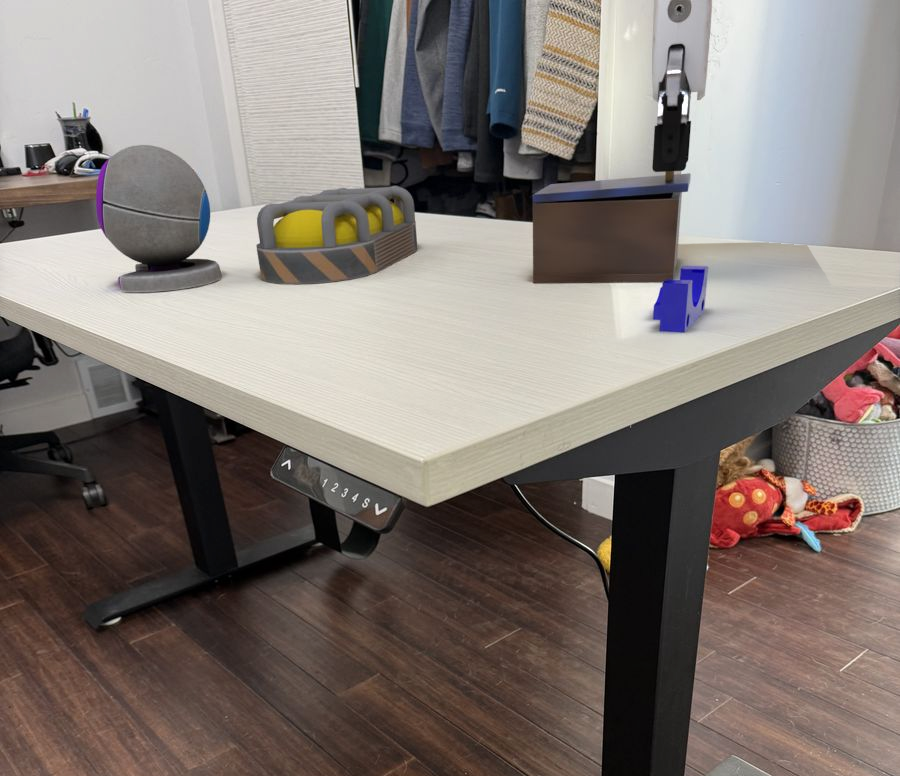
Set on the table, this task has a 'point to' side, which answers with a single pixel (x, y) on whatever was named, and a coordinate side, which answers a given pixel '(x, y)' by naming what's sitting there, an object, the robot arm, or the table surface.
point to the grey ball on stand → (155, 218)
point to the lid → (614, 188)
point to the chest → (606, 239)
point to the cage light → (335, 235)
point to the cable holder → (682, 299)
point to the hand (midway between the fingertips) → (670, 167)
